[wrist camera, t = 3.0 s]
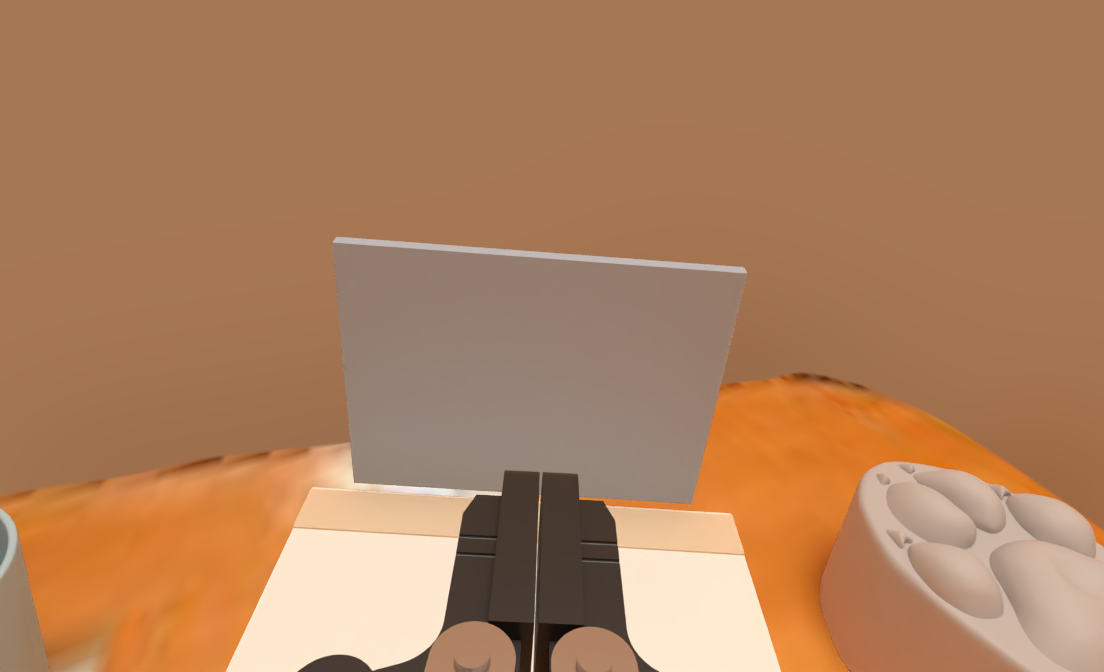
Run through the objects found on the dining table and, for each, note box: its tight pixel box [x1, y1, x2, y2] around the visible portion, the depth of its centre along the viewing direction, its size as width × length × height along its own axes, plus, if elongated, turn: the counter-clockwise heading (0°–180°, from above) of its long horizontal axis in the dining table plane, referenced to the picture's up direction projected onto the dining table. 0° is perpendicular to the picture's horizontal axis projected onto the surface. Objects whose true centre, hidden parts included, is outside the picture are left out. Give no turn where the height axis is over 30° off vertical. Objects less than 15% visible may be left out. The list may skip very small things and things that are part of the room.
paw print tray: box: [819, 462, 1104, 672], centre depth 31 cm, size 10×13×9 cm
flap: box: [332, 237, 747, 504], centre depth 29 cm, size 16×1×12 cm, turn 89°
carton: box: [226, 487, 781, 672], centre depth 29 cm, size 20×10×6 cm, turn 90°
